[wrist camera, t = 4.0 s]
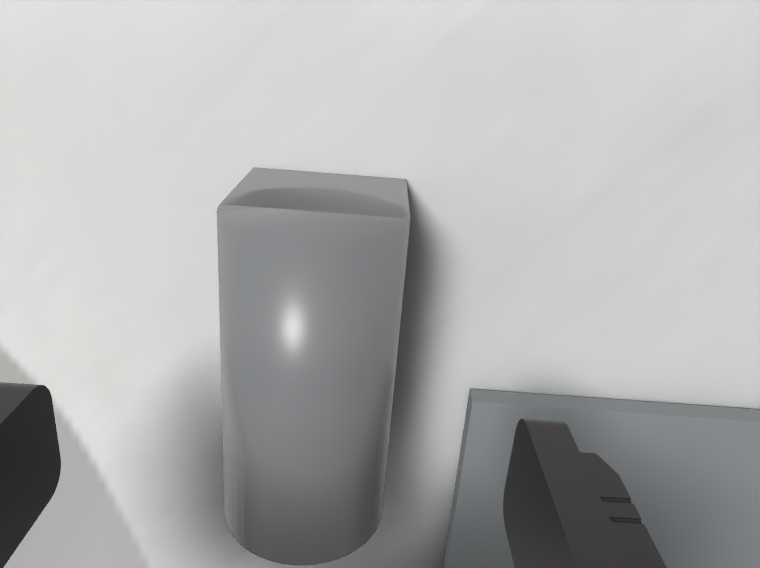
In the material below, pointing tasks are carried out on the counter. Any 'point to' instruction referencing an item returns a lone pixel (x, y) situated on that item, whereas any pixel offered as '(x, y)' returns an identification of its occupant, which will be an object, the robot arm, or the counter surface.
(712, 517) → the slate mat
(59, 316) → the counter surface
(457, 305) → the counter surface
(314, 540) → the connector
